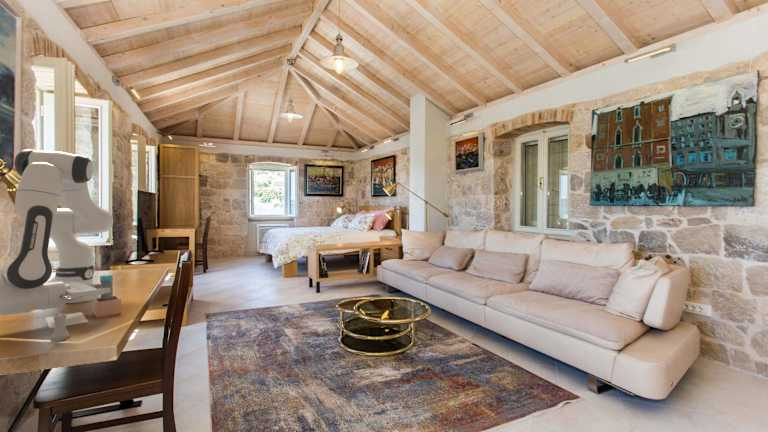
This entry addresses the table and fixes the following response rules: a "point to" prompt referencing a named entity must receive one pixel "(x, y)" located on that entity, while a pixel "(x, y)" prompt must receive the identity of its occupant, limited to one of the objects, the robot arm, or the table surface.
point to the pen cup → (107, 307)
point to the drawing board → (68, 319)
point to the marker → (107, 282)
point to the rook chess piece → (60, 328)
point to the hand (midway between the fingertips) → (105, 287)
